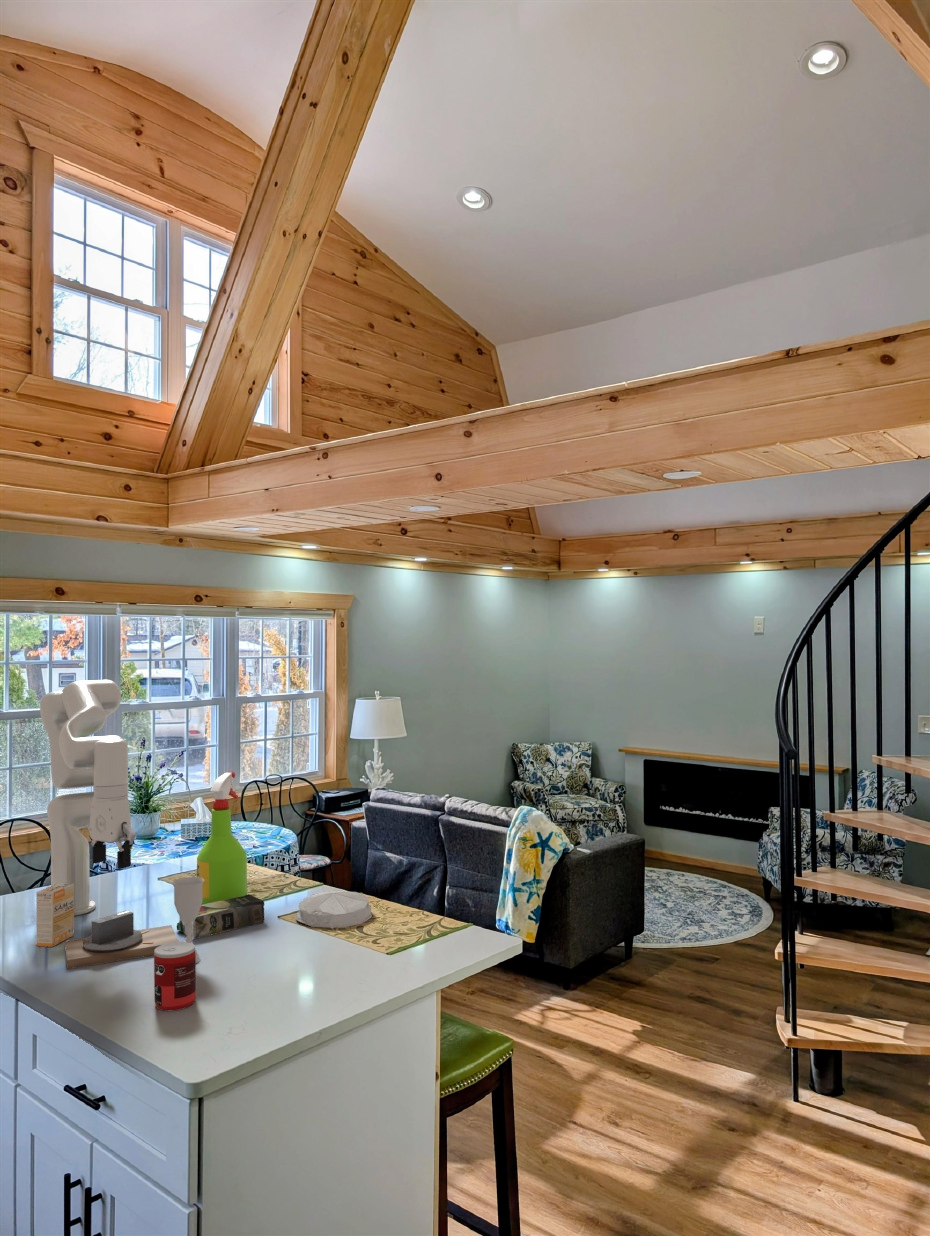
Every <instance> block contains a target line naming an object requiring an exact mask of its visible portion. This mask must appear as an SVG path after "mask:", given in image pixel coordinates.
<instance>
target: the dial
mask: <svg viewBox="0 0 930 1236" xmlns="http://www.w3.org/2000/svg"><path fill="white" fill-rule="evenodd" d="M134 916H135V915H134V912H133V911H129V910H123V911H120V912H116V913H114V914H110V915H107V916H106V915H105V916H104V917H100V918H97V919H94V920H91V934H90V935H89V936H87V937H85V938H86V939H84V941H83V948H84V949H85V950H87V951H90V952H112V951H118V950H123V949H127V948H130V947H132V946H135V945H137V944H138V943H140V942H141V941H142V932H140V931H138V930H139V929H134V927H135V926H134V923H135V922H134V921H135V920H134Z"/></svg>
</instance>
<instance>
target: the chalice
mask: <svg viewBox="0 0 930 1236" xmlns="http://www.w3.org/2000/svg"><path fill="white" fill-rule="evenodd" d="M203 882H204V879H203V878H199V877H197V876H192V877H191V876H188V877H187V876H186V877H180V878H177V879H174V880H172V881H171V884H172V886H173V891H174V892H173V893H174V894H173V896H174V897H173V898H174V899H173V901H174V902H173V903H174V907H175V910H176V912H177V914H178V916H179V919H180V918H181V920H182V922H185V923H186V926H187V927H186V930H185V932H186V934H185V939H184V942H189V943H192V941H193V940H194V939H193V938H191V932H192V929H191V922H193V921H195V919H196V917H197V914H198V912H199V910H200V907H201V904H202V884H203ZM195 953H196V964H197V963H199V962H200V961H201V960H202V959H201V958H200V955H199V953H198V951H197V950H196V949H195Z"/></svg>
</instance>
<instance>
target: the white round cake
mask: <svg viewBox="0 0 930 1236" xmlns="http://www.w3.org/2000/svg"><path fill="white" fill-rule="evenodd" d="M298 910H299V911H298V912H297V913H296V914H295V917H294V918H295V919H296V921H298V922H300V923H302V924H305V925H306V926H307V925H308V926H309V927H311V928H315V927H316V928H330V929H334V928H341V929H342V928H343V929H344V928H348V927H353V926H357V925H361V924H363V923H365V922H367V921H368V920H370V919H371V918H372V917H373V915H372V905H371V904H370V899H369V898H368V897H367V896H366V895H365V894H363V893H360V892H357V891H345V890H343V891H342V890H340V891H338V890H337V891H336V890H333V891H323V892H319V893H316V894H311V895H309V896H307V897H304V898H303V899H302V900H301V901H299V902H298Z"/></svg>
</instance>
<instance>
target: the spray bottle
mask: <svg viewBox="0 0 930 1236" xmlns="http://www.w3.org/2000/svg"><path fill="white" fill-rule="evenodd" d="M235 778H236V773H235V771H233V770H232V771H231V770H230V771H227V772H224V773H223V774H222V775H220V776H218V777H217V778H216V779H215V780H214V782H213V784H212V787H211V789H210V791H209V792H211V793H213V799H214V800H213V806H212V807H213V808H212V809H211V818H210V819H211V820H210V821H211V824H210V825H211V830H210V835H211V836H210V837H209V838H208V839H207V841H206V842H205V843H204V844H203V845H202V848H201V850H200V851H199V853H198V855H197V857H196V877H199V878H203V879H204V882H203V884H202V904H201V905H204V904H208V903H213V902H217V901H222V900H226V899H232V898H237V897H242V896H245V895H248V858H247V857H248V855H247V852H246V851H245V848H244V847H243V845H242V844H241V842H240V841H239V840H238V839H237V838H236V837H235V836H234V835H233V833H232V815H231V814H232V813H231V811H232V810H231V807H229V800H228V799H227V798H228V797H229V796H230V797H231V798H233V799H238V800H239V799H240V796H239V795H238V794H237V792H236V791H234V790H233V783H234V779H235Z"/></svg>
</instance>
